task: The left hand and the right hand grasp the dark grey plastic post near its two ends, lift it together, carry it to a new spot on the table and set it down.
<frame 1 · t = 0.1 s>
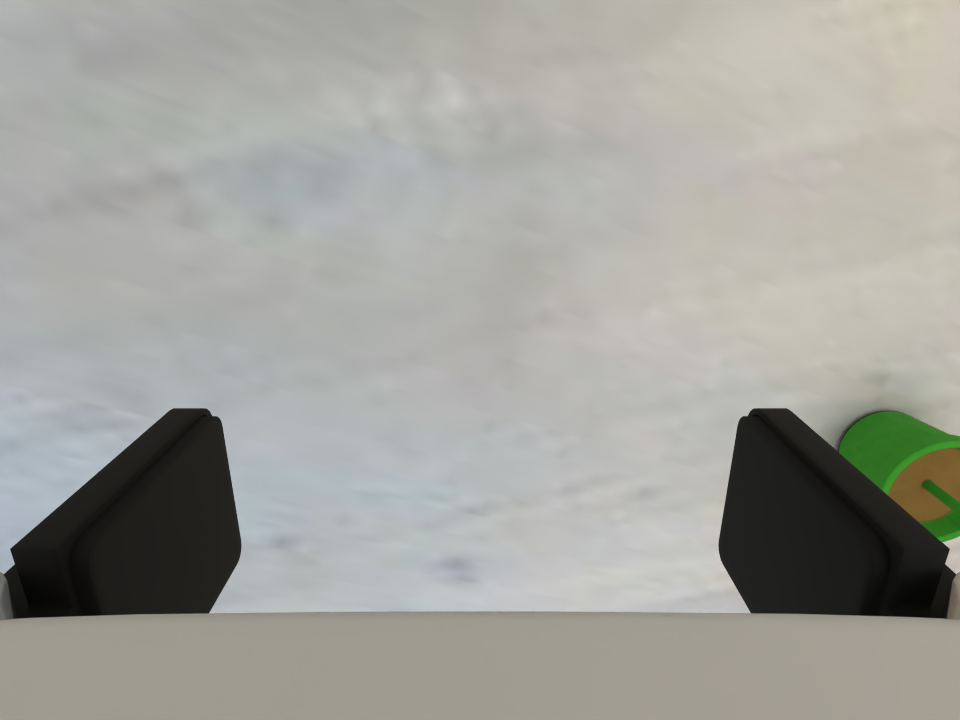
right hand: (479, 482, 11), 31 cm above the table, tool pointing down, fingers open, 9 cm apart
potted flower: (873, 447, 46), on the table
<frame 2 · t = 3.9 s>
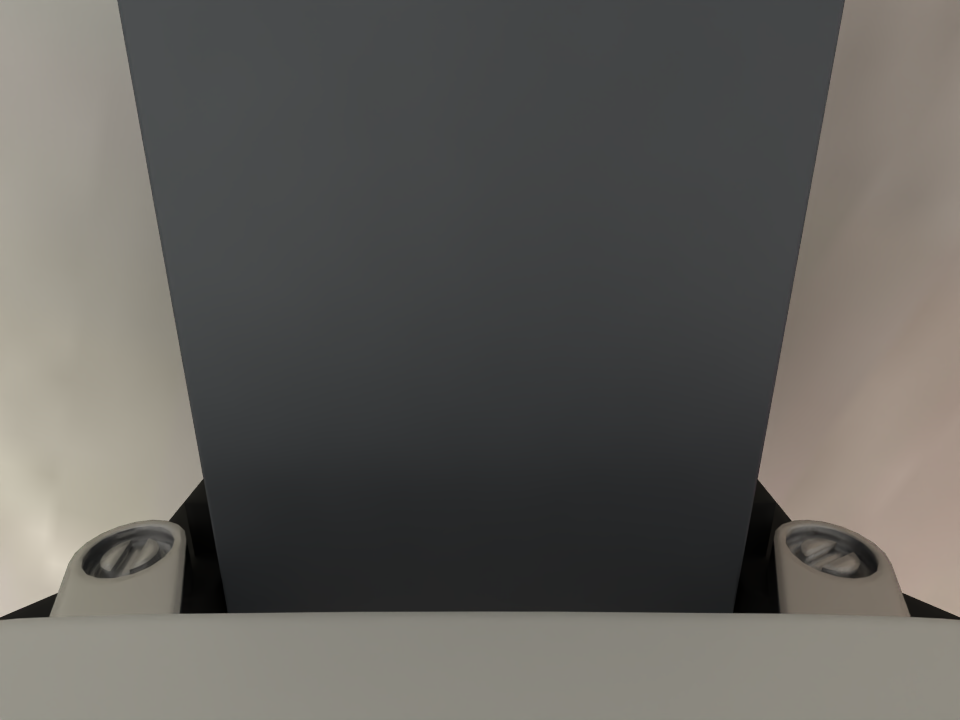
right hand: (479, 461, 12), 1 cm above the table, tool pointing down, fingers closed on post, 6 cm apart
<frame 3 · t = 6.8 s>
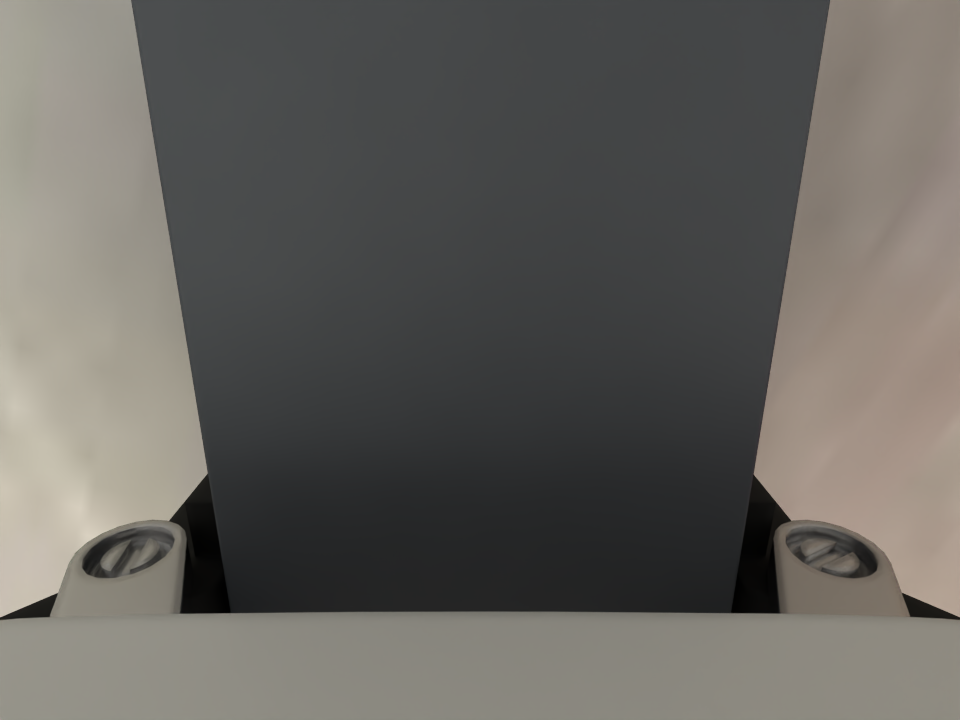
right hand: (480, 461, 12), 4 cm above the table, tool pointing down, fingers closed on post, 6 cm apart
when the left hand's fingers open (1 cm above the table, at t = 16.6 s): post stays where it is, on the table.
when the right hand's fingers open (2 cm above the table, at t = 16.8 s): post stays where it is, on the table.
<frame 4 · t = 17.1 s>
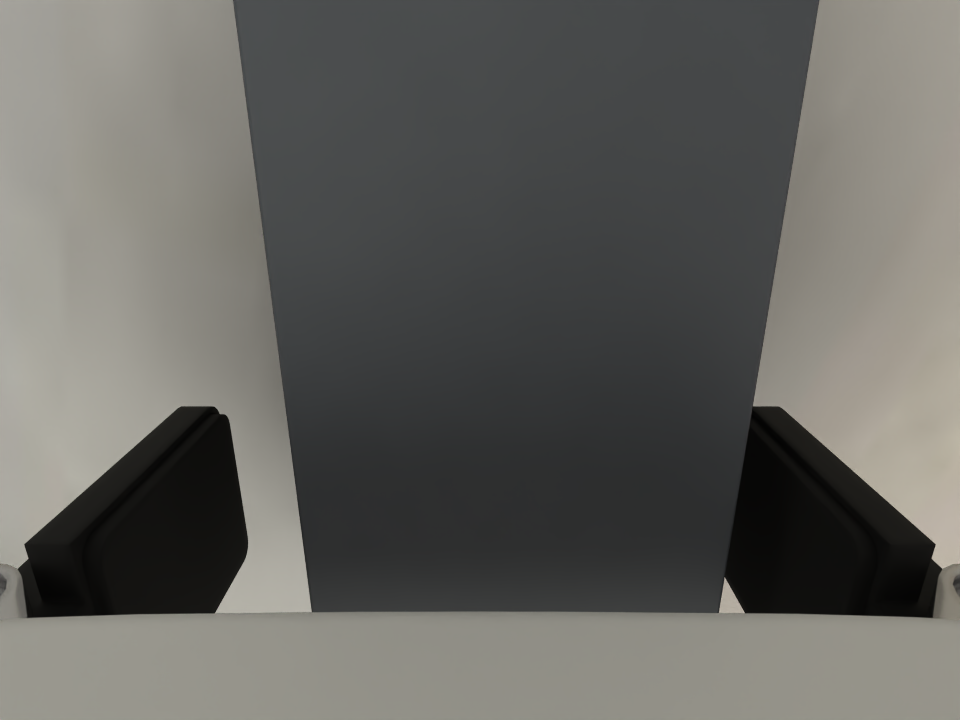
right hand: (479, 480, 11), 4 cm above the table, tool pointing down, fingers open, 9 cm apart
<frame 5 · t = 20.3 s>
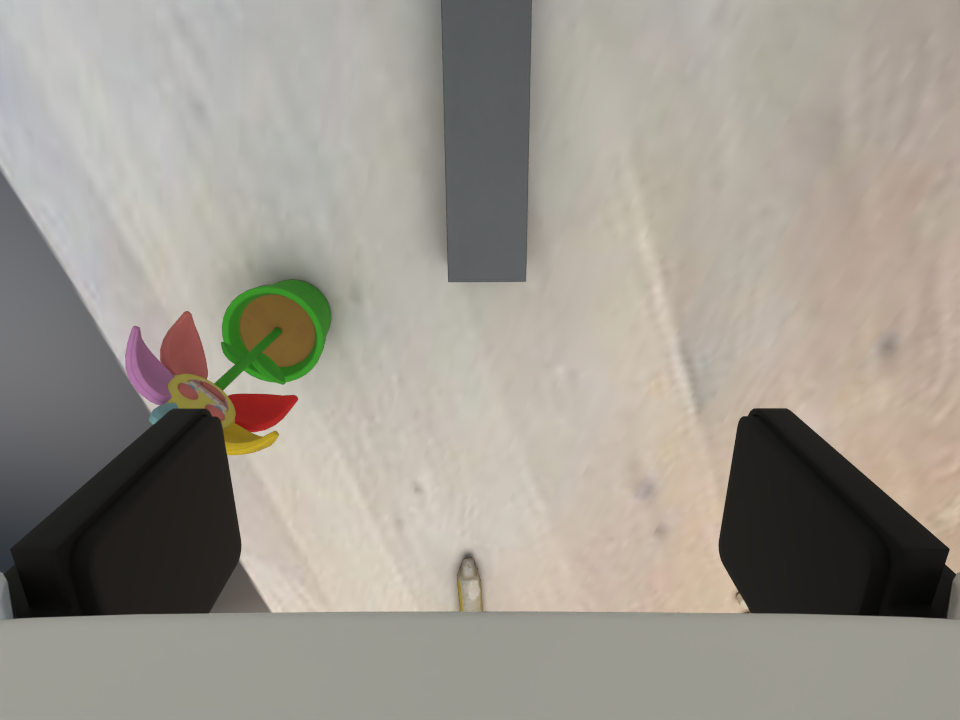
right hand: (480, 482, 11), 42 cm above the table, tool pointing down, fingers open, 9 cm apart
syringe: (478, 648, 66), on the table
potted flower: (294, 310, 53), on the table
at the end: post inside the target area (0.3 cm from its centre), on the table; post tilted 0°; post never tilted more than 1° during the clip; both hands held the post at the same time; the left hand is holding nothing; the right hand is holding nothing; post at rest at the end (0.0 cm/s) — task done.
